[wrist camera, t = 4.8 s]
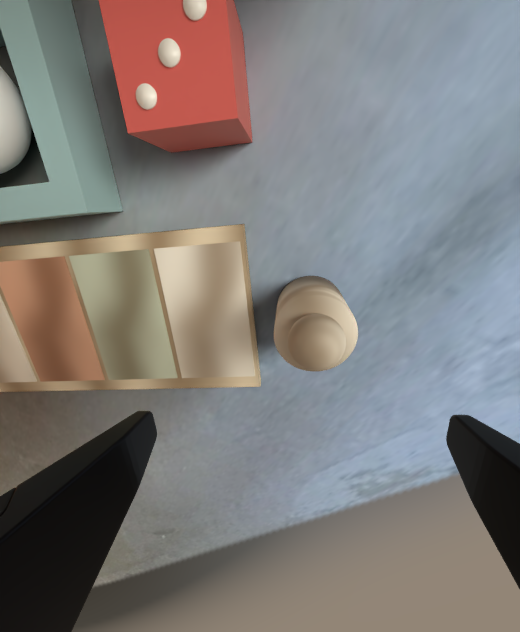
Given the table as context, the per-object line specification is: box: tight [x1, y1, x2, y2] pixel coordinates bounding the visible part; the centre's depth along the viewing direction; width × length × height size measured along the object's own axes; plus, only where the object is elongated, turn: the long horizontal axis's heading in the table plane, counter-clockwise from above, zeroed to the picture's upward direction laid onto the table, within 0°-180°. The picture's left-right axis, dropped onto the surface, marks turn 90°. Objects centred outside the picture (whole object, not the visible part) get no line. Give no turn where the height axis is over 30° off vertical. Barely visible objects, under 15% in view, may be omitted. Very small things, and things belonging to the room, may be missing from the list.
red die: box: [99, 0, 252, 153], centre depth 14 cm, size 5×5×5 cm
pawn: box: [274, 276, 358, 371], centre depth 17 cm, size 5×5×7 cm
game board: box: [0, 224, 261, 392], centre depth 22 cm, size 25×12×1 cm, turn 95°
